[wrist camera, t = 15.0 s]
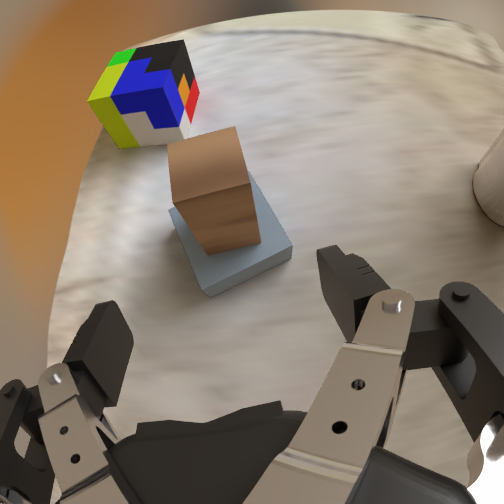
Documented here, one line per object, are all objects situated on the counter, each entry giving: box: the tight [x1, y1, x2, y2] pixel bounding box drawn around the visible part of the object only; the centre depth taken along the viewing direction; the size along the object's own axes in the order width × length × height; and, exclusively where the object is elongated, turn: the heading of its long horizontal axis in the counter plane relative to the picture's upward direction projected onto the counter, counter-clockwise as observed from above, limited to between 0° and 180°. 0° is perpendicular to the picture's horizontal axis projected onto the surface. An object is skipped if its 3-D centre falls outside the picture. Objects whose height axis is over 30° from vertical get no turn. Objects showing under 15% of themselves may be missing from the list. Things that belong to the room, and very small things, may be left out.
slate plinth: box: [168, 172, 293, 298], centre depth 31 cm, size 9×9×4 cm
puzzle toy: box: [87, 40, 200, 149], centre depth 35 cm, size 10×10×10 cm
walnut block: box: [167, 126, 261, 256], centre depth 25 cm, size 5×5×10 cm
